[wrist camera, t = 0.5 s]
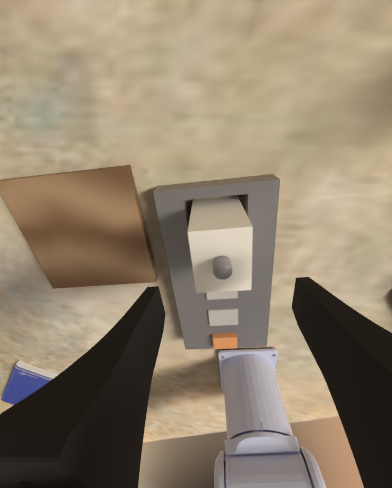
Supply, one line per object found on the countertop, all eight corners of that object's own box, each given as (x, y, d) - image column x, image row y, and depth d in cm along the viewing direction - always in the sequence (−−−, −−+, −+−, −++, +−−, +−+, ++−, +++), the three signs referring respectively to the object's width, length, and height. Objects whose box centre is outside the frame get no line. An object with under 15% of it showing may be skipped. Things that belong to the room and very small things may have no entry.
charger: (237, 243, 21) (254, 299, 14) (198, 246, 22) (195, 303, 15) (237, 194, 19) (256, 233, 12) (193, 199, 19) (186, 239, 12)
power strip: (262, 332, 27) (267, 350, 25) (186, 335, 28) (185, 353, 26) (272, 174, 18) (282, 180, 16) (157, 186, 19) (151, 194, 16)
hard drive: (13, 367, 31) (-1, 400, 37) (66, 385, 33) (46, 415, 39) (21, 357, 33) (7, 390, 38) (71, 375, 35) (51, 405, 40)
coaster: (157, 277, 24) (156, 281, 23) (57, 283, 25) (53, 288, 24) (130, 165, 18) (127, 166, 17) (1, 179, 19) (-7, 181, 18)
